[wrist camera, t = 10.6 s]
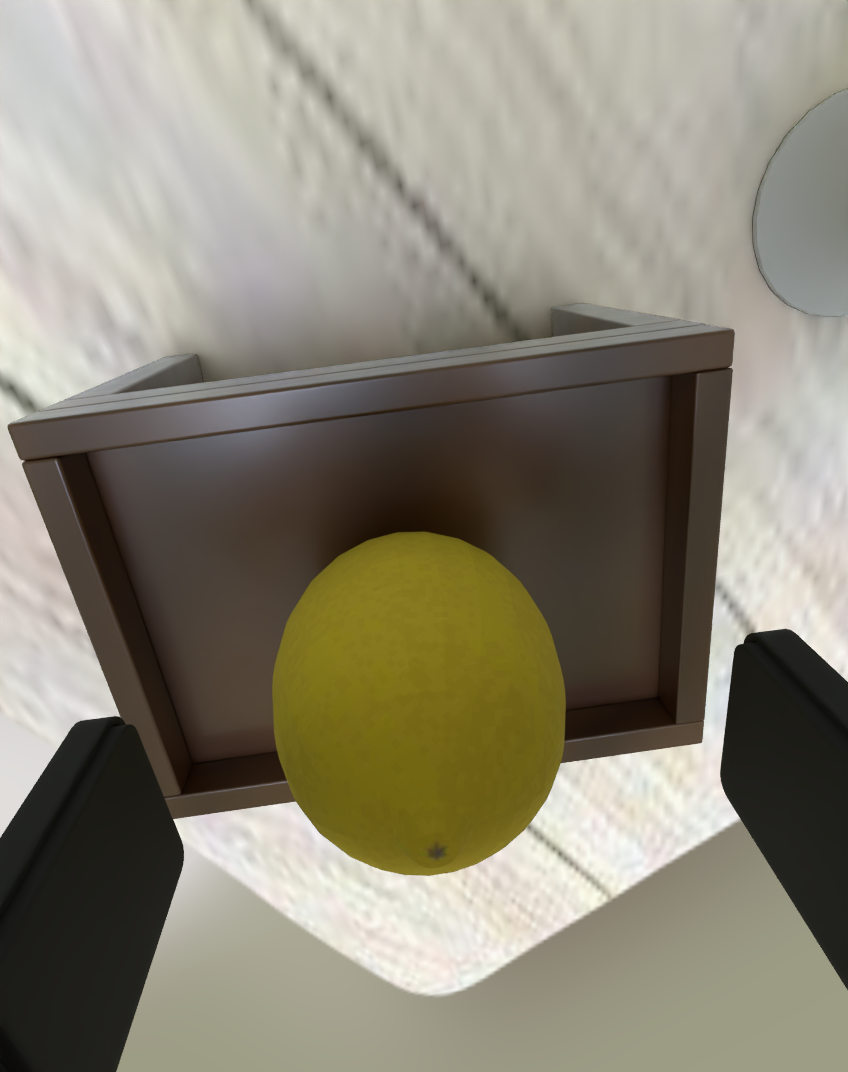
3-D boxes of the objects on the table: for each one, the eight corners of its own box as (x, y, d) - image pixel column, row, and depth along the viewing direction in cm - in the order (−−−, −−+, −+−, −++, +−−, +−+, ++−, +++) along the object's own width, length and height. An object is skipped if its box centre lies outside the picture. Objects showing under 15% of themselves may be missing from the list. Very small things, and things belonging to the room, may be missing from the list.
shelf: (584, 302, 22) (737, 328, 13) (587, 576, 27) (702, 743, 17) (162, 357, 22) (3, 424, 13) (236, 624, 26) (160, 821, 17)
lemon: (520, 659, 17) (629, 952, 10) (320, 688, 17) (279, 1006, 10) (506, 467, 15) (635, 660, 8) (276, 499, 15) (179, 727, 7)
